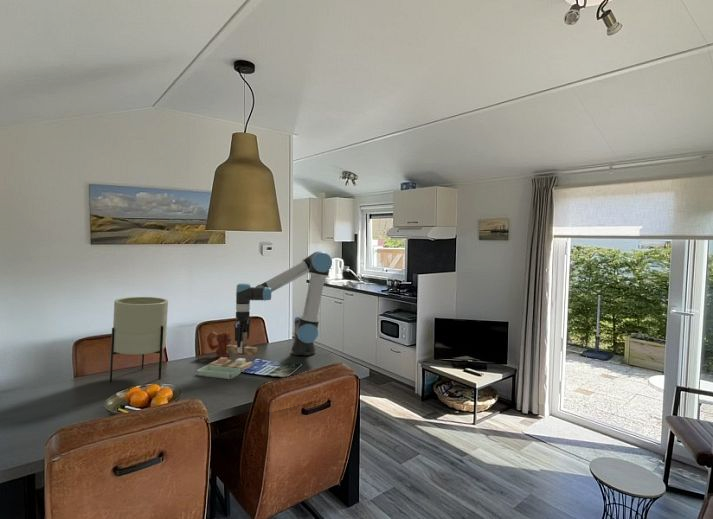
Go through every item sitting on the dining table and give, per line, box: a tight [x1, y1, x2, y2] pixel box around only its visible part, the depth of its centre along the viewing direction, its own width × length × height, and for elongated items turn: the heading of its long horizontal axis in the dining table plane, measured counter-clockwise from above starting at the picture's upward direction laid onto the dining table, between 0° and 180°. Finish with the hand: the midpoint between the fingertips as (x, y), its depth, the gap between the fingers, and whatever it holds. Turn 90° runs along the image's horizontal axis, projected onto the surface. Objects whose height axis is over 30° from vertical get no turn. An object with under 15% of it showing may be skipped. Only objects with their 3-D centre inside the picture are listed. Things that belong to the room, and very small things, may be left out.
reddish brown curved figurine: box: [206, 330, 232, 358], centre depth 236 cm, size 15×8×15 cm, turn 84°
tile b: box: [217, 357, 229, 363], centre depth 216 cm, size 4×4×2 cm
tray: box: [195, 364, 242, 380], centre depth 204 cm, size 20×10×3 cm, turn 75°
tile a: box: [234, 357, 247, 364], centre depth 215 cm, size 4×4×2 cm
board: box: [208, 358, 254, 372], centre depth 215 cm, size 20×11×3 cm, turn 75°
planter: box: [108, 296, 169, 384], centre depth 197 cm, size 23×24×39 cm
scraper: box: [226, 332, 258, 357], centre depth 225 cm, size 18×4×12 cm, turn 75°
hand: (241, 351), depth 225 cm, fingers closed on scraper, 4 cm apart
